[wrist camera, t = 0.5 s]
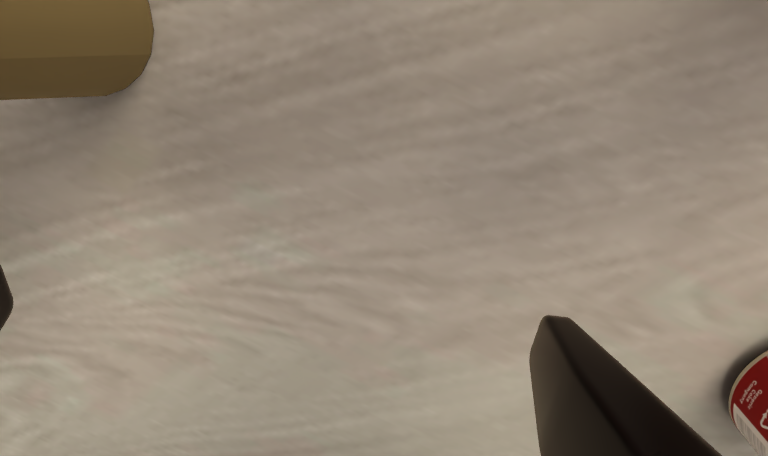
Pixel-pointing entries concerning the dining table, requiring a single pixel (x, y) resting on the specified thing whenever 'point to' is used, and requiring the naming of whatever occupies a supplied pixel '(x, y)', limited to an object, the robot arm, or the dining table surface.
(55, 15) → the tan rounded tall piece
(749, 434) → the soda can
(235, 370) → the dining table surface
